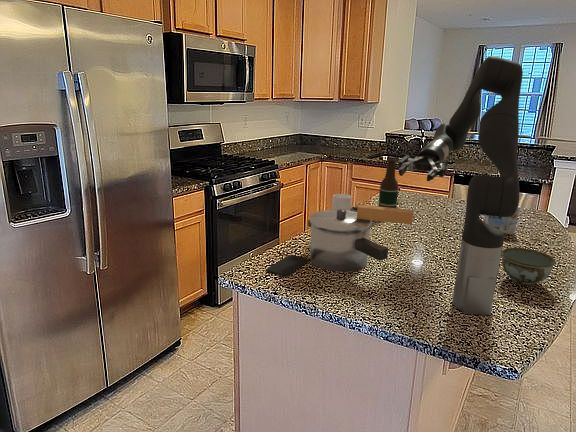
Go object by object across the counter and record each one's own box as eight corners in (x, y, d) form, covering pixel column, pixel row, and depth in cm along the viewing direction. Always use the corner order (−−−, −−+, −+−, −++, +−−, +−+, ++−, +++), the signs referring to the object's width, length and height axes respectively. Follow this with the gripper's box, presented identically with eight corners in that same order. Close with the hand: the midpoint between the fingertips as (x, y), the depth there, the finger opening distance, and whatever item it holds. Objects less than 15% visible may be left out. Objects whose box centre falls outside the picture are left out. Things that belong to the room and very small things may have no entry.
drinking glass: (348, 239, 154) (351, 198, 150) (329, 237, 156) (331, 197, 151) (349, 233, 161) (352, 194, 156) (331, 231, 162) (333, 193, 158)
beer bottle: (376, 214, 186) (381, 159, 179) (378, 210, 193) (383, 157, 186) (395, 216, 183) (400, 161, 177) (396, 212, 191) (401, 158, 184)
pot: (292, 251, 141) (293, 216, 138) (335, 242, 150) (337, 209, 147) (356, 289, 115) (360, 248, 112) (403, 276, 125) (408, 237, 121)
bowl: (503, 268, 132) (508, 243, 130) (553, 280, 124) (559, 255, 122) (491, 282, 122) (496, 256, 120) (544, 297, 114) (551, 269, 112)
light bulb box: (485, 231, 167) (490, 205, 164) (482, 226, 173) (486, 200, 170) (515, 234, 165) (520, 207, 161) (511, 229, 171) (515, 203, 168)
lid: (303, 228, 126) (303, 208, 124) (318, 211, 143) (319, 194, 141) (410, 241, 117) (412, 220, 116) (412, 222, 134) (414, 203, 133)
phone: (310, 259, 134) (286, 275, 122) (310, 261, 135) (286, 278, 122) (290, 254, 138) (264, 269, 125) (290, 256, 138) (264, 272, 126)
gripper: (412, 140, 141) (392, 160, 130) (456, 147, 133) (438, 168, 122) (411, 161, 145) (391, 182, 134) (454, 169, 137) (436, 191, 126)
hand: (414, 175), depth 128 cm, fingers open, 8 cm apart
